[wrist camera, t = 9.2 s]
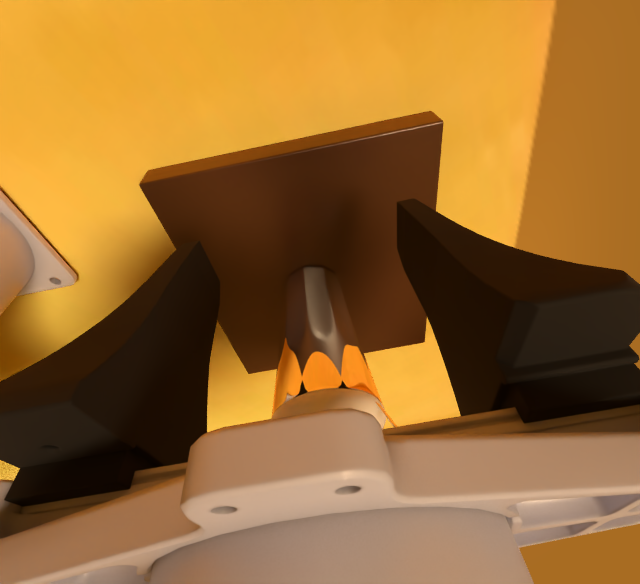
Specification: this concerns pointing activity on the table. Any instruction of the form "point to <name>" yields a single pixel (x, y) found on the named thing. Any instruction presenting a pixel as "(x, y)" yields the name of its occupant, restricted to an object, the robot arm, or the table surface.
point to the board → (307, 226)
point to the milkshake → (321, 351)
